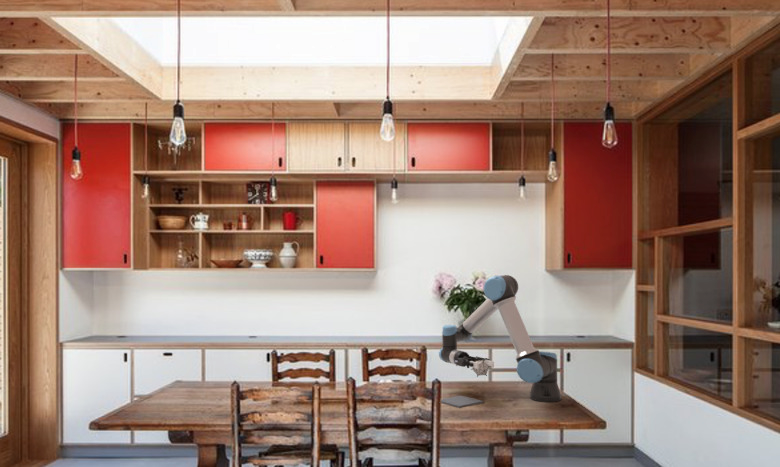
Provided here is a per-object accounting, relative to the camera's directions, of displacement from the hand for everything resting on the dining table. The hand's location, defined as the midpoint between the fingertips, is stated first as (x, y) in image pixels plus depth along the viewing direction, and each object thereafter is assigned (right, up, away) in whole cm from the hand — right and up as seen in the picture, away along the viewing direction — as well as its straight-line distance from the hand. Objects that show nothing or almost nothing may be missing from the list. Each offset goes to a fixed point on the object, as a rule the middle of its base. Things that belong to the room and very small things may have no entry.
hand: (485, 365), depth 300 cm
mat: (-12, -19, +5) cm, 23 cm away
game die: (-2, -6, +4) cm, 8 cm away
